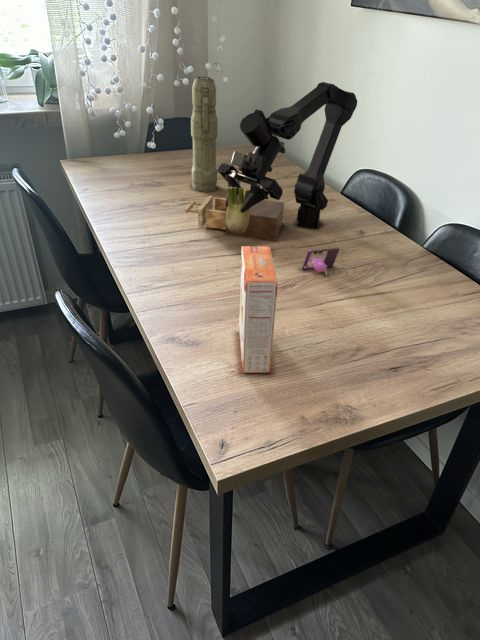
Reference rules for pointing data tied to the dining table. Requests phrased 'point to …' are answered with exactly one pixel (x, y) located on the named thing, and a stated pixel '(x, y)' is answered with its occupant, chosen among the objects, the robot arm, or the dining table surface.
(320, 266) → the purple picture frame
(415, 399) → the dining table surface
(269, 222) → the cabinet
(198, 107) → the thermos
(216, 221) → the drawer
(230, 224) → the fennel bulb
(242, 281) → the cracker box
